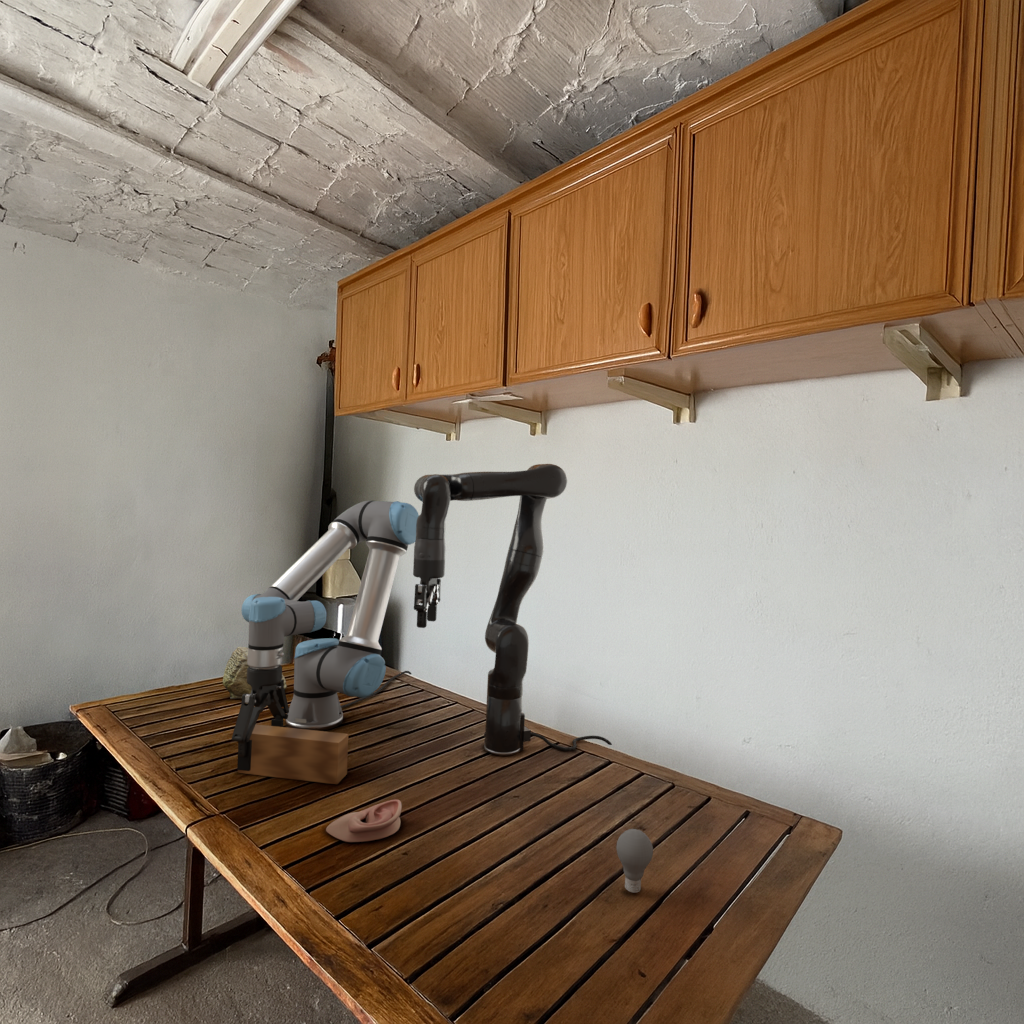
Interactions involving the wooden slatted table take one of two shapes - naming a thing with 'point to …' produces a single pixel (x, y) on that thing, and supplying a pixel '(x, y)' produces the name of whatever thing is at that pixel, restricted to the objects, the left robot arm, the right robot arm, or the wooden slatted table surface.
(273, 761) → the bar
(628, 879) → the light bulb
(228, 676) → the fossil
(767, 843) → the wooden slatted table surface
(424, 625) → the right robot arm
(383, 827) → the anatomical model
